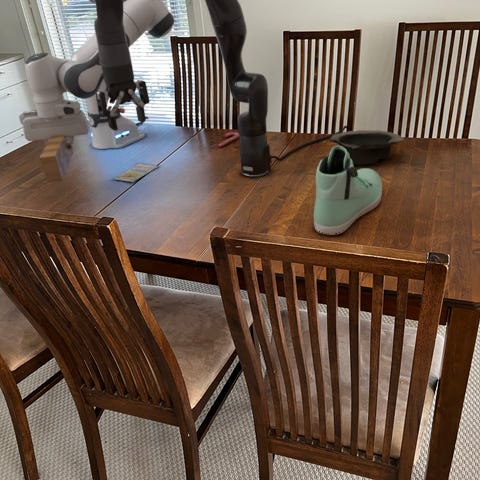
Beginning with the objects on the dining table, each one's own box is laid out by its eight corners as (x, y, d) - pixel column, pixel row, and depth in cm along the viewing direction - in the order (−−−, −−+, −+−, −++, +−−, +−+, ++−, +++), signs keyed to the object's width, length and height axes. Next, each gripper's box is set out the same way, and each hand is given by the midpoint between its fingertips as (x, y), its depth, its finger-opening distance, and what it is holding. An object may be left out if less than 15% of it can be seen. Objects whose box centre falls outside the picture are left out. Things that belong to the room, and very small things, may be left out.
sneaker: (389, 187, 148) (396, 123, 138) (356, 242, 123) (361, 168, 112) (346, 181, 154) (350, 119, 144) (306, 232, 129) (307, 161, 118)
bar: (59, 154, 163) (53, 131, 159) (73, 153, 164) (67, 130, 160) (47, 183, 143) (39, 157, 139) (62, 181, 144) (55, 155, 140)
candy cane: (208, 146, 191) (208, 142, 190) (230, 134, 201) (230, 130, 201) (220, 148, 188) (220, 144, 187) (242, 136, 198) (242, 132, 197)
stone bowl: (361, 175, 156) (361, 148, 152) (316, 158, 177) (315, 133, 172) (418, 157, 165) (419, 130, 161) (369, 142, 185) (369, 118, 181)
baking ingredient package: (112, 178, 168) (138, 163, 180) (113, 179, 168) (138, 164, 180) (133, 181, 165) (157, 165, 176) (133, 182, 165) (158, 166, 176)
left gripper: (14, 115, 148) (28, 157, 155) (82, 107, 150) (92, 149, 157) (19, 109, 153) (32, 150, 161) (84, 102, 155) (94, 142, 163)
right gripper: (99, 69, 113) (113, 135, 121) (148, 58, 121) (158, 120, 130) (83, 66, 118) (97, 130, 126) (131, 55, 126) (142, 116, 134)
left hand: (62, 149), depth 159 cm, fingers closed on bar, 4 cm apart
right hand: (128, 125), depth 128 cm, fingers open, 8 cm apart
